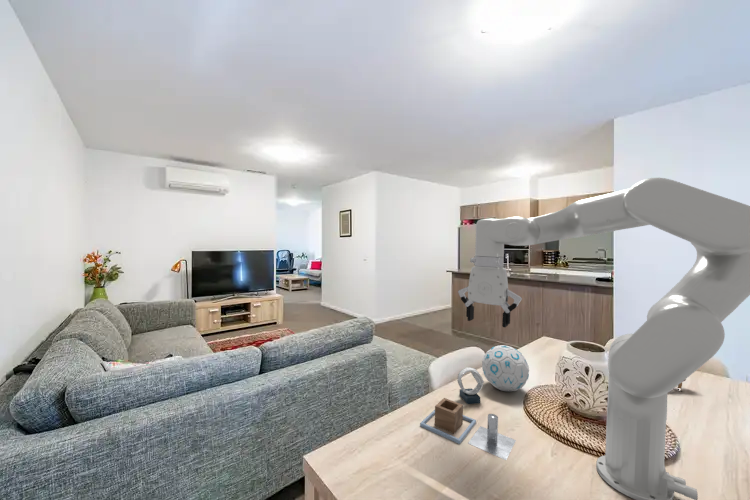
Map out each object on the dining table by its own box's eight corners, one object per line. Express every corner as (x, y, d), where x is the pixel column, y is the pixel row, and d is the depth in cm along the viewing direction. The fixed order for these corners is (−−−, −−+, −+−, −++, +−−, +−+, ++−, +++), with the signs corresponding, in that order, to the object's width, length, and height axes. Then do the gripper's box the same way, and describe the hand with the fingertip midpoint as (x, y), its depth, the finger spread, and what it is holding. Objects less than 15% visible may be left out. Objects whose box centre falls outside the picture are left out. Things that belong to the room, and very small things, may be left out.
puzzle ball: (475, 378, 112) (476, 339, 111) (514, 378, 112) (515, 339, 112) (492, 400, 96) (493, 354, 96) (537, 400, 97) (539, 354, 97)
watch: (485, 406, 93) (486, 371, 92) (461, 408, 91) (462, 373, 91) (477, 397, 98) (478, 364, 98) (454, 398, 97) (454, 365, 97)
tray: (475, 427, 82) (476, 420, 82) (459, 448, 73) (459, 440, 73) (438, 412, 89) (439, 405, 89) (420, 430, 80) (420, 422, 80)
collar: (454, 436, 77) (454, 413, 77) (434, 427, 81) (435, 406, 80) (462, 426, 82) (463, 404, 81) (443, 418, 85) (444, 397, 85)
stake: (515, 444, 75) (516, 415, 75) (506, 465, 68) (507, 432, 68) (480, 430, 81) (481, 402, 80) (467, 447, 74) (468, 417, 73)
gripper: (454, 261, 86) (452, 320, 87) (518, 265, 75) (516, 332, 76) (464, 260, 92) (463, 315, 92) (525, 264, 81) (523, 326, 82)
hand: (487, 323), depth 84 cm, fingers open, 9 cm apart
